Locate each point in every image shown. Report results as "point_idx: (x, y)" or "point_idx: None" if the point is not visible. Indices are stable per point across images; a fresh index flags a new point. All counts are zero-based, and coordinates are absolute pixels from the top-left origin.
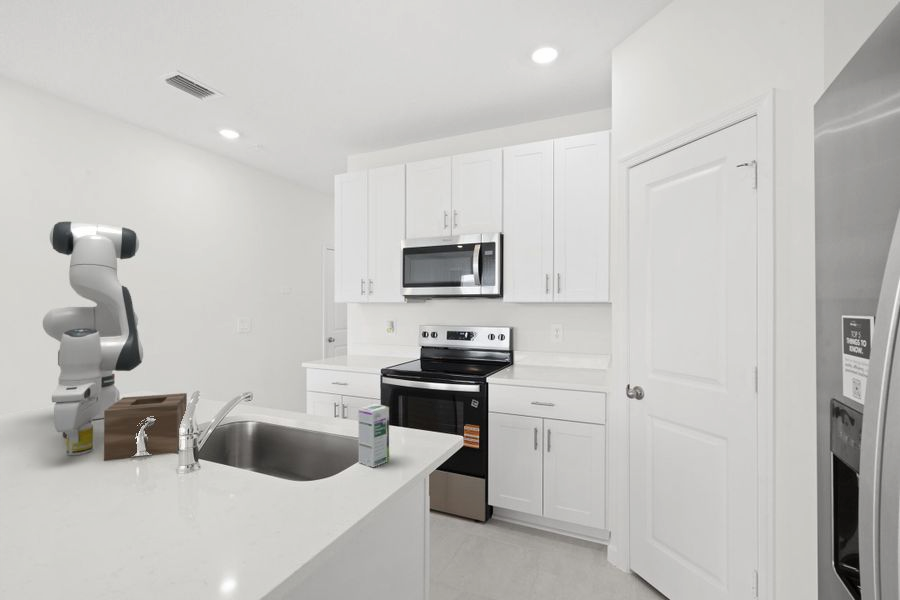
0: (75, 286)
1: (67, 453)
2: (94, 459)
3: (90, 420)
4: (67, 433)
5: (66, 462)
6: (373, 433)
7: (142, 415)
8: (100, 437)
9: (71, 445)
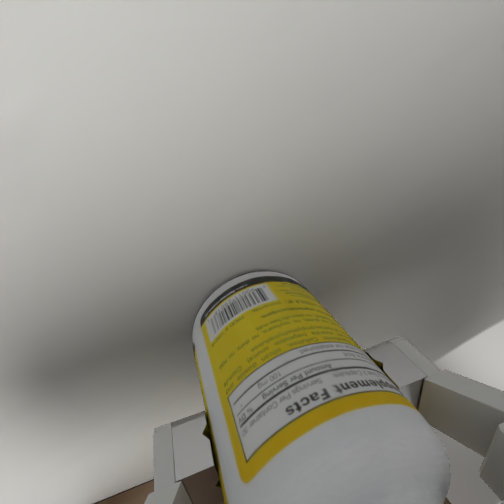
0: None
1: (207, 303)
2: (113, 460)
3: (494, 486)
4: (255, 437)
5: (65, 374)
6: None
7: None
8: (488, 256)
9: (201, 378)
